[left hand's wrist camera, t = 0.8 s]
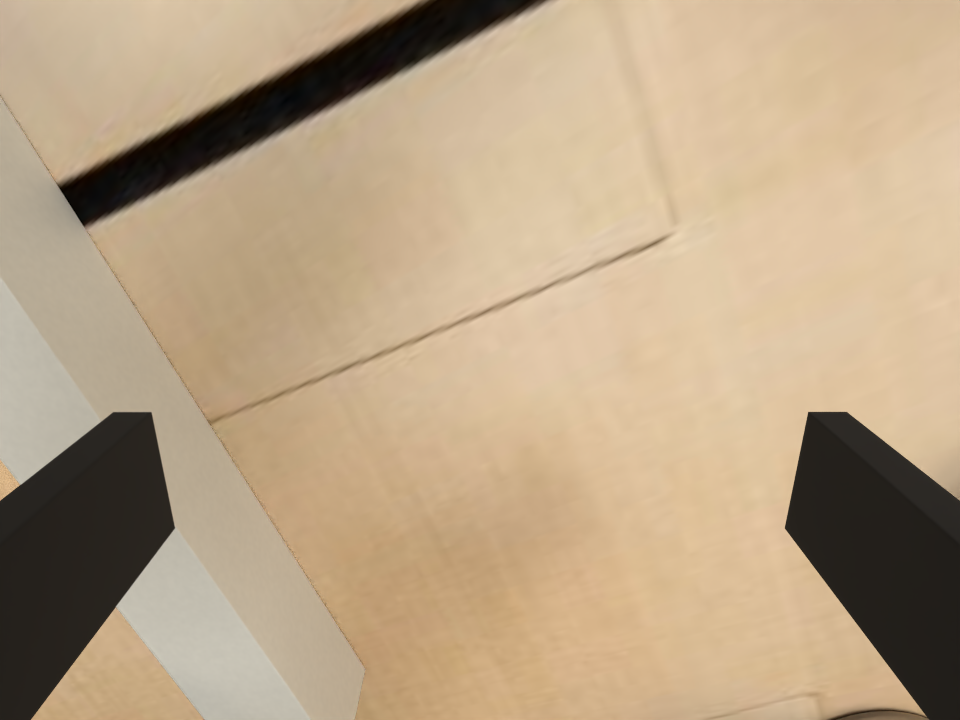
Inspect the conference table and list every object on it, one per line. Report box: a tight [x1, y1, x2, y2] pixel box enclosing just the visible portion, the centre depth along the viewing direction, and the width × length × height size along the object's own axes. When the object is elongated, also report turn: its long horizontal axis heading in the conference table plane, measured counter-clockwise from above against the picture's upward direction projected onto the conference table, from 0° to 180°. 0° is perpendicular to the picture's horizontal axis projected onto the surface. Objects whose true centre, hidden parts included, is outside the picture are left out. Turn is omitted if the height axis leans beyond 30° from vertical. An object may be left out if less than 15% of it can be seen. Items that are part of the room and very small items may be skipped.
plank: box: [0, 96, 365, 720], centre depth 34 cm, size 53×6×8 cm, turn 23°
